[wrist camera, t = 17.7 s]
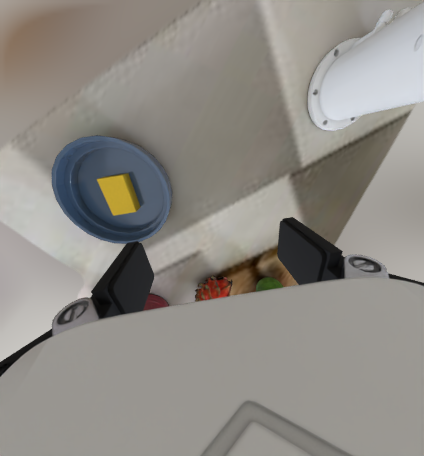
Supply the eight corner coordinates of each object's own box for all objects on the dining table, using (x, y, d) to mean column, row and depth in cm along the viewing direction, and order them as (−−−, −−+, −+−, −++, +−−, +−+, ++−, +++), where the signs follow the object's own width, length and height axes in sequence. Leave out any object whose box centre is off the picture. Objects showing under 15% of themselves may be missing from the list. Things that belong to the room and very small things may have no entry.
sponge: (105, 176, 30) (96, 179, 27) (128, 173, 30) (122, 175, 27) (119, 210, 33) (113, 215, 30) (140, 207, 33) (136, 212, 30)
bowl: (73, 118, 26) (51, 111, 22) (184, 164, 31) (182, 165, 27) (68, 218, 33) (51, 227, 29) (159, 242, 38) (155, 253, 34)
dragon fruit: (191, 287, 47) (223, 265, 47) (207, 313, 46) (240, 290, 46) (183, 295, 39) (222, 268, 39) (201, 326, 37) (242, 298, 37)
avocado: (281, 275, 47) (307, 311, 37) (265, 292, 50) (285, 331, 39) (261, 266, 45) (282, 302, 34) (246, 285, 48) (261, 324, 37)
